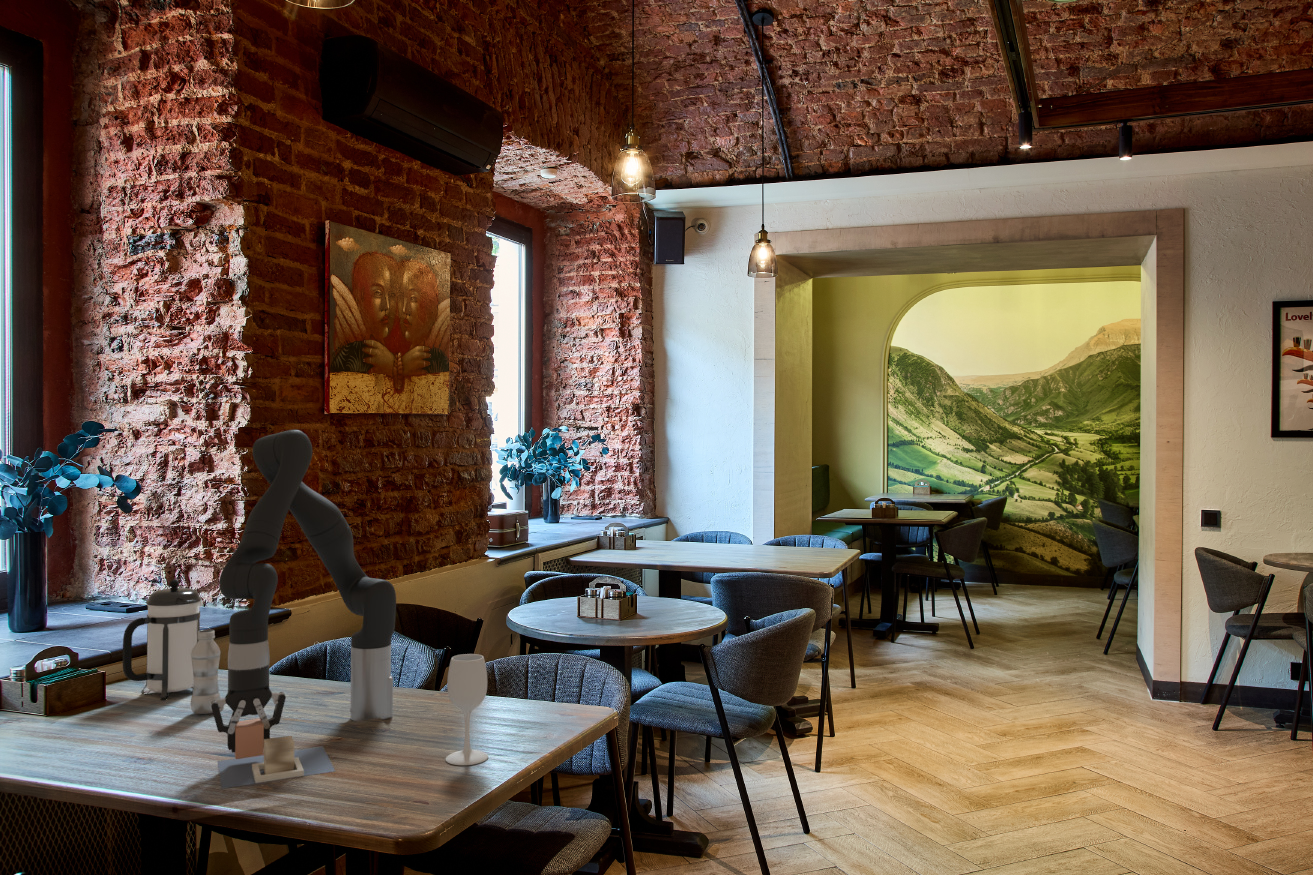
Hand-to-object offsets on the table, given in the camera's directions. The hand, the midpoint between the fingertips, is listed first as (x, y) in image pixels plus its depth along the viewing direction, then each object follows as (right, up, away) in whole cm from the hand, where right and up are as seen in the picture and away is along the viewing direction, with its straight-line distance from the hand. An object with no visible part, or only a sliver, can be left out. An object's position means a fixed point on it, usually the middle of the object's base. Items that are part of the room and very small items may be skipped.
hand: (248, 748), depth 180 cm
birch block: (+8, -3, -5) cm, 10 cm away
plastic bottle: (-29, -5, +40) cm, 50 cm away
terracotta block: (0, -1, 0) cm, 1 cm away
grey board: (+6, -4, -1) cm, 8 cm away
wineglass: (+42, -5, +8) cm, 43 cm away
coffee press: (-47, -6, +58) cm, 75 cm away
